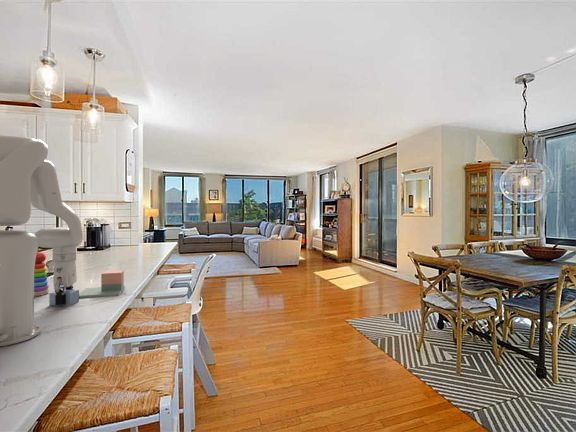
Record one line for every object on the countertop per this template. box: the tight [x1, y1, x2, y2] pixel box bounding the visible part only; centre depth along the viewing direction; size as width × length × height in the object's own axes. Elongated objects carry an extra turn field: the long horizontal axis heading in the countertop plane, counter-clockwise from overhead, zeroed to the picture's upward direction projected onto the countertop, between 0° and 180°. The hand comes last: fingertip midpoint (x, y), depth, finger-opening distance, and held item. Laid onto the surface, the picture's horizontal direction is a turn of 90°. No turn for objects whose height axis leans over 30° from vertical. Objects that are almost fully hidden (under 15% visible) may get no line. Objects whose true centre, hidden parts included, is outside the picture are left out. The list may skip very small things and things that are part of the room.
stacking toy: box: [34, 251, 50, 297], centre depth 126 cm, size 8×8×19 cm
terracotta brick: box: [100, 270, 125, 285], centre depth 132 cm, size 5×8×5 cm, turn 109°
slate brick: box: [48, 289, 80, 307], centre depth 115 cm, size 5×8×5 cm, turn 93°
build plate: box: [79, 280, 126, 299], centre depth 130 cm, size 13×16×4 cm
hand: (64, 301), depth 115 cm, fingers open, 6 cm apart
